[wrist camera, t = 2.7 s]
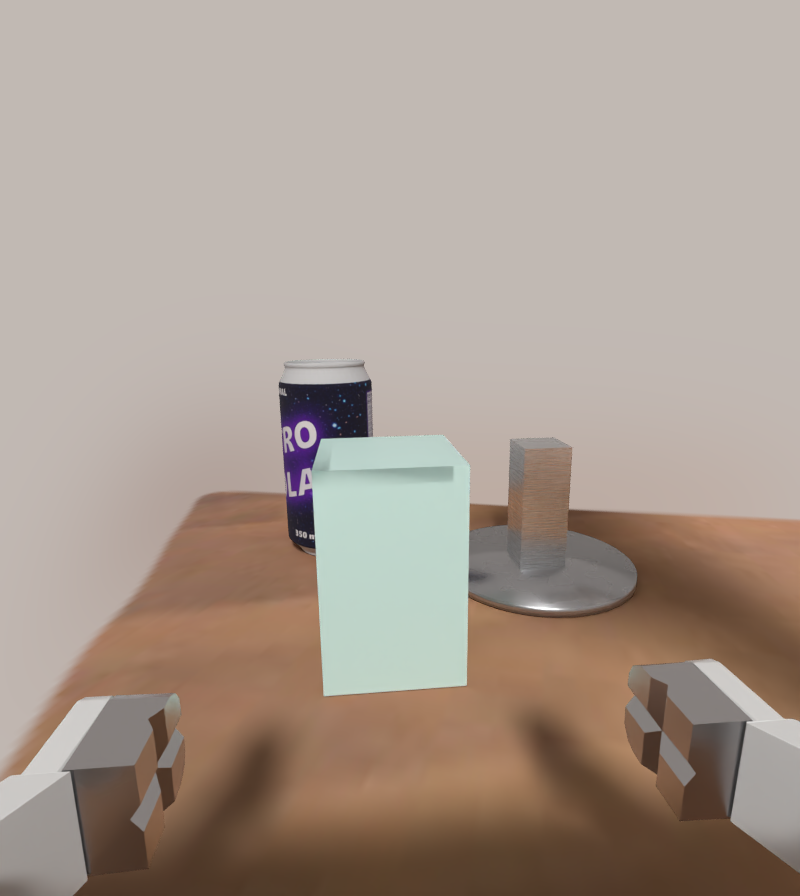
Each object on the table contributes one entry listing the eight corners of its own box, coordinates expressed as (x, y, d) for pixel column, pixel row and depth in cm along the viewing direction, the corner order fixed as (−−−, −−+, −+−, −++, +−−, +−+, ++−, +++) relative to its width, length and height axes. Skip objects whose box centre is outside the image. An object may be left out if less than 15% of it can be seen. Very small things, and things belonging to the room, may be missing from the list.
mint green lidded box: (442, 610, 26) (443, 434, 24) (466, 685, 20) (470, 465, 18) (330, 617, 25) (321, 438, 23) (323, 696, 20) (311, 471, 18)
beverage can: (309, 525, 38) (299, 358, 35) (384, 530, 36) (380, 358, 34) (274, 558, 32) (260, 364, 29) (361, 565, 31) (354, 364, 28)
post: (583, 528, 36) (590, 423, 34) (680, 610, 25) (697, 463, 24) (428, 535, 35) (428, 428, 34) (461, 624, 25) (463, 472, 23)
